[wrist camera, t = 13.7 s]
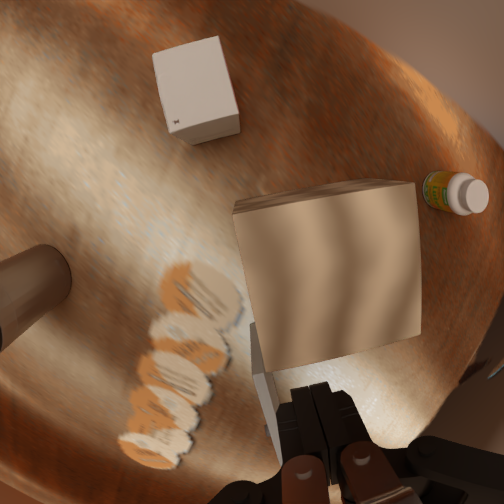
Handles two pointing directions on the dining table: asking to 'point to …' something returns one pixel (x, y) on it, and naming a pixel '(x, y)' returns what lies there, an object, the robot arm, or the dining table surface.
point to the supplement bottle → (455, 192)
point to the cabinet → (331, 269)
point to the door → (265, 390)
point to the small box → (197, 91)
